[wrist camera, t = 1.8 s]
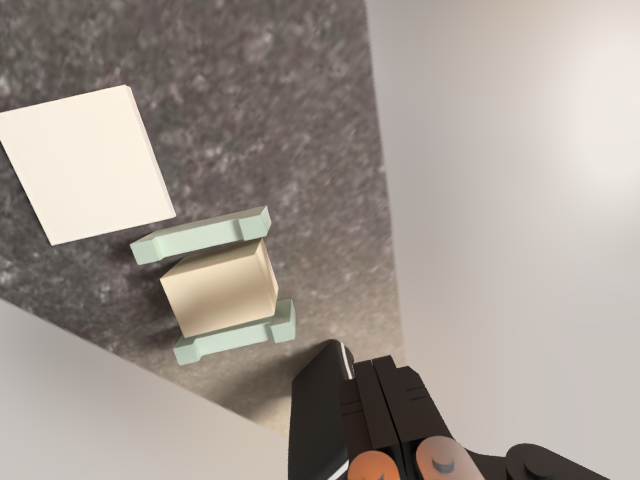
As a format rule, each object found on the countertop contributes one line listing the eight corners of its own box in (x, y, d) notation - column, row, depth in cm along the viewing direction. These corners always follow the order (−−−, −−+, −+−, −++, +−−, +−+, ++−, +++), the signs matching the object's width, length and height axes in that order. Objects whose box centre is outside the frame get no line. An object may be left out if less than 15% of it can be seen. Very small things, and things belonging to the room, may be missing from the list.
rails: (156, 230, 26) (129, 244, 22) (266, 205, 26) (260, 214, 22) (196, 335, 29) (179, 365, 25) (295, 312, 29) (294, 338, 25)
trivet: (-2, 117, 23) (-12, 115, 22) (130, 87, 23) (124, 84, 22) (59, 242, 26) (51, 245, 25) (176, 216, 26) (172, 217, 25)
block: (184, 256, 27) (159, 279, 22) (262, 236, 27) (254, 254, 22) (204, 306, 28) (184, 337, 23) (278, 287, 28) (274, 315, 23)
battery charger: (317, 401, 32) (326, 533, 21) (289, 381, 31) (283, 508, 20) (364, 355, 30) (400, 469, 19) (335, 334, 30) (357, 440, 19)
